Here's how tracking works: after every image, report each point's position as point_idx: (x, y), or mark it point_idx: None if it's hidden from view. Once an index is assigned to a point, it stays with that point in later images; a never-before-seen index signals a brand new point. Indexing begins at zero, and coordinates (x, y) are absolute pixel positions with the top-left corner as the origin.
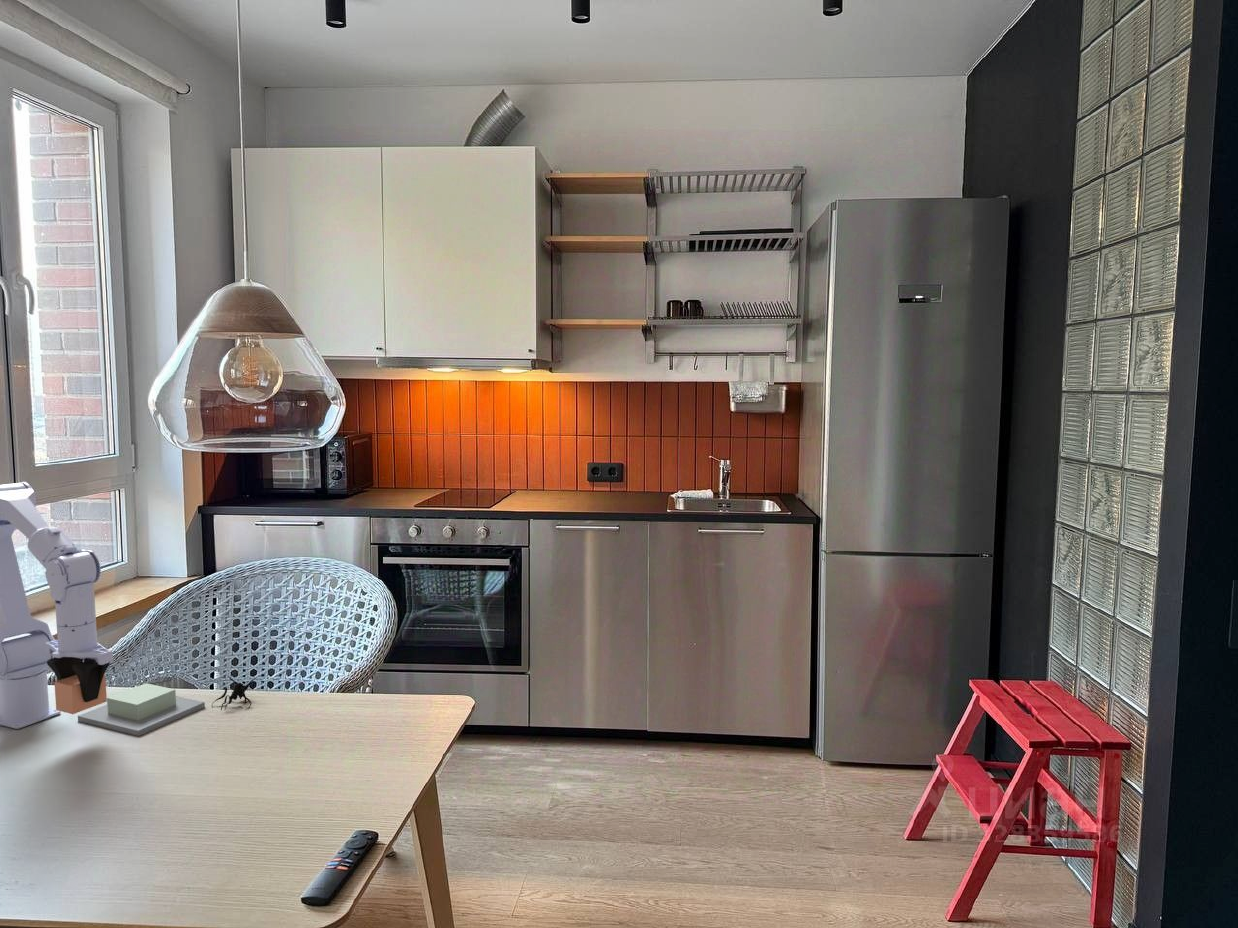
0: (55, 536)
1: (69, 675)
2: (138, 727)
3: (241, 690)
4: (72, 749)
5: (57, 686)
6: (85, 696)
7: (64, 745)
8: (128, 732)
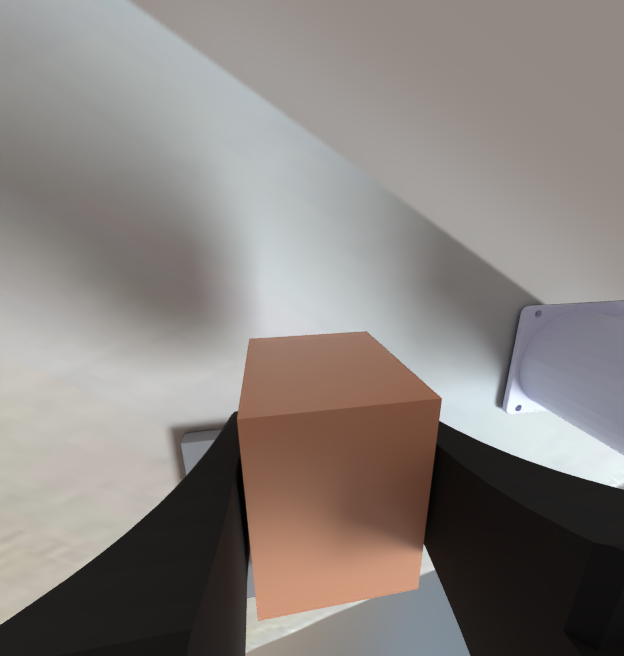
0: None
1: (440, 502)
2: (203, 454)
3: None
4: (266, 300)
5: (396, 386)
6: (225, 427)
7: (314, 306)
8: None
